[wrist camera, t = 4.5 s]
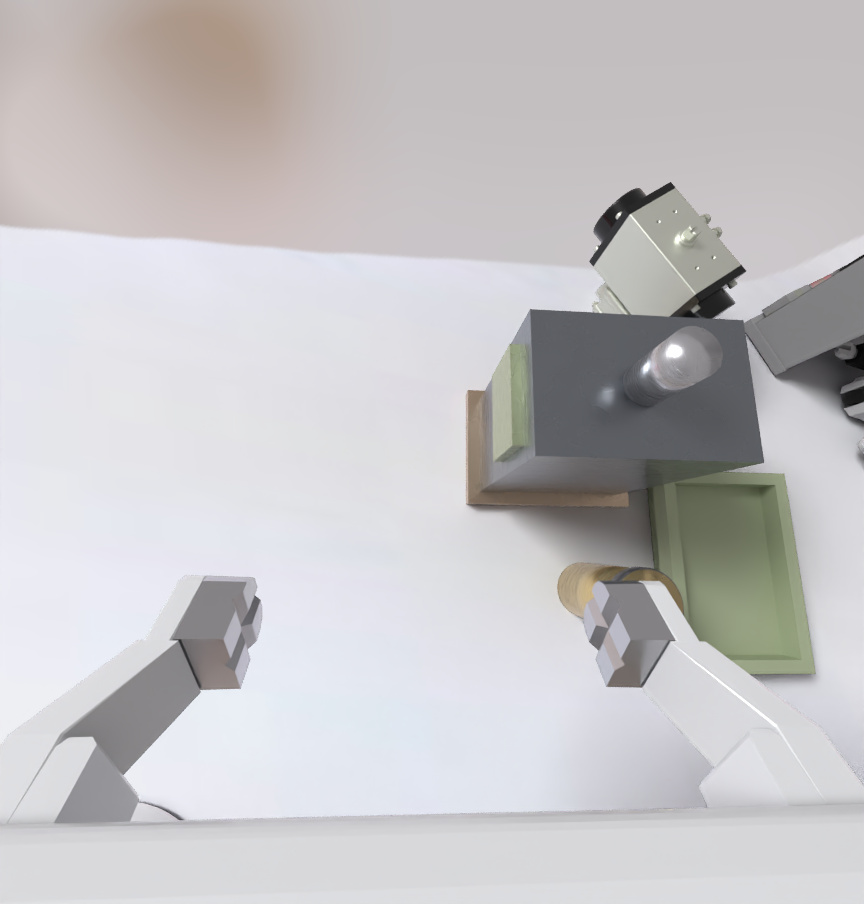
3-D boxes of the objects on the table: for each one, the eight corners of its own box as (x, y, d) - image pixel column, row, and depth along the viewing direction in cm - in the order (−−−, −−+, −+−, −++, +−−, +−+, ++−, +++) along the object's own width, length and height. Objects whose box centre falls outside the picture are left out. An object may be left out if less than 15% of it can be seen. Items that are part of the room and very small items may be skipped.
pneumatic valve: (632, 375, 41) (725, 308, 29) (559, 281, 42) (620, 181, 31) (675, 347, 42) (781, 271, 30) (602, 255, 43) (676, 149, 32)
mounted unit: (621, 507, 38) (868, 469, 18) (466, 504, 37) (542, 460, 17) (613, 400, 40) (827, 258, 20) (465, 394, 39) (533, 240, 19)
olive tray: (787, 664, 36) (815, 673, 34) (663, 665, 36) (682, 674, 33) (760, 477, 40) (784, 473, 37) (646, 474, 39) (662, 470, 36)
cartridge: (610, 617, 36) (688, 645, 26) (557, 617, 36) (616, 645, 26) (607, 561, 37) (680, 568, 27) (555, 561, 37) (610, 567, 27)
